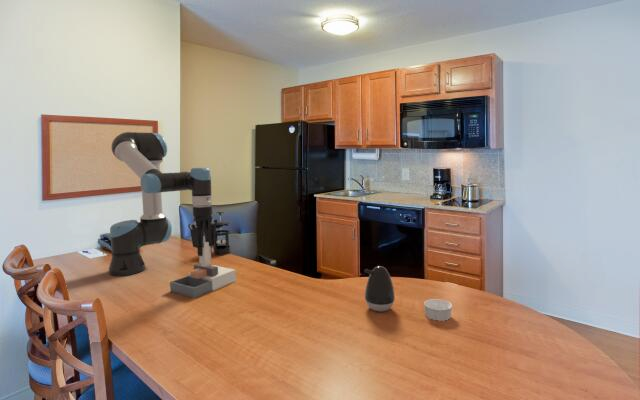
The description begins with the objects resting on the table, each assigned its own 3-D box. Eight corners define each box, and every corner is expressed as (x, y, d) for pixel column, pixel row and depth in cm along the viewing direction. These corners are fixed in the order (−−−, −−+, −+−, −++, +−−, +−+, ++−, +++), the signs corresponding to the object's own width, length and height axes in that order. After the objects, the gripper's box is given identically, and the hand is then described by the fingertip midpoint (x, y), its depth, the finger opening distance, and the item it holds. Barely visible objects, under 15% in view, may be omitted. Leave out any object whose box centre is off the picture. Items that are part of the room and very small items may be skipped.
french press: (235, 252, 204) (233, 211, 201) (222, 256, 196) (220, 213, 194) (220, 249, 211) (218, 209, 208) (207, 253, 203) (205, 212, 200)
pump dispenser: (361, 303, 132) (361, 262, 131) (389, 302, 133) (390, 261, 131) (367, 315, 122) (367, 271, 120) (398, 314, 123) (398, 270, 121)
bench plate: (189, 284, 154) (188, 273, 153) (212, 275, 165) (212, 265, 164) (212, 290, 146) (212, 278, 146) (235, 281, 157) (235, 269, 157)
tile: (190, 277, 148) (190, 271, 148) (199, 273, 152) (199, 268, 152) (198, 278, 146) (198, 272, 146) (207, 275, 150) (206, 269, 149)
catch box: (170, 291, 146) (169, 281, 146) (188, 284, 154) (188, 275, 153) (194, 298, 139) (193, 288, 138) (212, 290, 146) (211, 281, 146)
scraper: (194, 271, 154) (192, 241, 152) (199, 269, 156) (198, 240, 155) (212, 276, 148) (210, 244, 146) (218, 273, 151) (216, 243, 149)
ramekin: (445, 325, 115) (445, 312, 115) (419, 317, 121) (419, 304, 121) (456, 315, 122) (456, 303, 121) (430, 308, 128) (431, 296, 127)
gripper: (193, 209, 140) (196, 268, 143) (223, 204, 153) (225, 258, 156) (180, 207, 144) (183, 265, 147) (210, 203, 157) (213, 256, 160)
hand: (205, 262), depth 152 cm, fingers closed on scraper, 2 cm apart
